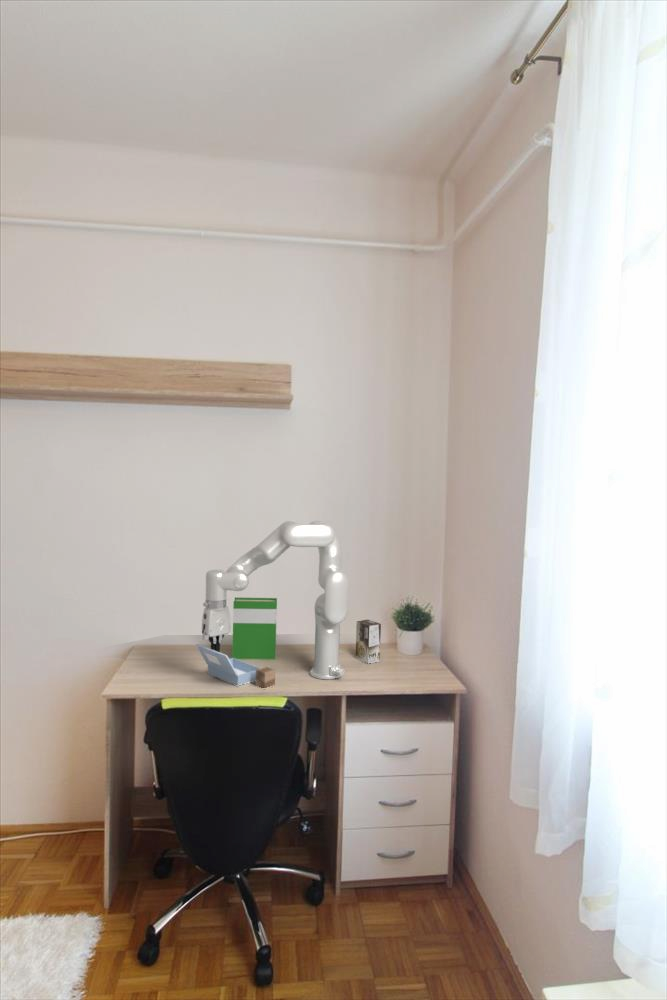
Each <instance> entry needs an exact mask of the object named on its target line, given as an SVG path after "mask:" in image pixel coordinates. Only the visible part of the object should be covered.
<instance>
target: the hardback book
mask: <svg viewBox="0 0 667 1000" xmlns="http://www.w3.org/2000/svg"><path fill="white" fill-rule="evenodd" d="M277 606H278V598H277V597H276V598H275V597H234V600H233V610H232V611H233V612H232V613H233V615H232V649H231V650H232V654H231V656H232V657H231V658H235V659H238V660H276V653H277V651H276V650H277V649H276V648H277V647H276V646H277V615H278V613H277V610H278V608H277Z"/></svg>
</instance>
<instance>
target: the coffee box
mask: <svg viewBox="0 0 667 1000" xmlns="http://www.w3.org/2000/svg"><path fill="white" fill-rule="evenodd" d="M381 630H382V624H381V623H379V622H377V621H373V620H372V619H371V620H370V619H363V620H358V621H356V634H355V635H356V637H355V659H356V658H357V659H356V660H358V659H359V660H358V661H360V660H361V662H363V661H364V662H363V663H365V662H366V663H365V664H367V663H368V664H367V665H370V664H369V663H371V664H376V663H375V662H377V663H380V660H381V658H380V657H381V655H380V654H381V634H382V633H381Z"/></svg>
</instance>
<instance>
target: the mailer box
mask: <svg viewBox="0 0 667 1000" xmlns="http://www.w3.org/2000/svg"><path fill="white" fill-rule="evenodd" d="M229 660H230V662H231V664H232V665H233V667H234V669H235V671H236V673H237V674H238V676H236V675H233V674H231V673H228V672H225V671H223V670H220V669H218V668H215V667H213V666H210V665H208V664H207V675H208V674H209V675H208V676H211V675H212V676H211V677H213V676H214V677H213V678H215V677H217V678H216V679H218V678H219V679H218V680H220V679H222V680H221V681H223V680H225V681H227V682H226V683H228V682H230V683H232V684H235V685H237V686H238V687H240V686H239V685H242V684H245V685H247V684H246V683H248V684H251V683H250V682H252V683H255V682H256V670H257V669H261V668H262V667H259V666H257V665H254V664H251V663H248V662H246V661H243V660H241V659H235V658H232V657H231V658H230V657H229ZM225 681H224V682H225ZM254 681H255V682H254ZM230 683H229V684H230ZM232 684H231V685H232ZM235 685H234V686H235ZM237 686H236V687H237ZM242 686H243V685H242Z"/></svg>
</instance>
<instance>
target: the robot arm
mask: <svg viewBox="0 0 667 1000" xmlns="http://www.w3.org/2000/svg"><path fill="white" fill-rule="evenodd" d="M291 547H296V548H318V554H319V557H318V559H319V560H318V561H319V564H318V585H319V587H321V588H322V590H324V593H322V594H320V595H319V596H318V597H317V598H316V600H315V602H314V619H315V620H314V622H315V626H314V627H315V631H314V633H315V634H314V662H313V663H314V664H313V665H314V666H313V667H312V668H311V669H310V671H309V675H310V676H311V677H312V678H316V679H321V680H335V678H336V679H338V678H339V679H340V678H341V677H343V675H344V674H345V672H346V670H345V669H344V668H342V665H341V663H340V636H341V625H340V624H341V623H343V622H344V620H346V618H347V616H348V613H349V603H350V602H349V601H350V581H349V578H348V575H347V574H346V573H345V572H344V571H343V570H342V548H341V542H340V541H339V538H338V536H337V535H336V532H335V530H334V528H333V527H332V526H331V525H330V524H328V523H326V522H324V521H321V520H314V521H311V522H310V523H297V522H295V521H291V520H289V521H288V520H286V521H284V522H282V523H281V524H280V525H279V526H278V527H276V528H275V529H274V530H273V531H272V532H271V533H269V534H268V536H267V537H266V538H265V539H263V540H262V541H261V542H259V544H257V545H256V546H254V547H253V548H251V549H250V550H248V552H246V553H244V554H243V555H241V556H240V557H239V558H238V559H237V560H236V561H235V562H234V563H233V564H231V565H230V566H229V567H228V569H227V570H226V571H225V570H222V569H210V570H208V571H207V572H206V574H205V599H204V600H205V602H203V603H202V606H203V607H205V608H204V609H203V613H202V619H201V634H202V640H205V641H209V643H210V649H212V650H214V651H217V652H220V650H221V642H223V639H224V638H225V637H226V636H228V635H229V633H230V632H231V615H230V610H229V609H230V608H229V606H227V591H233V592H241V591H244V590H246V588H247V587H248V586H249V584H250V579H249V576H250V575H251V574H252V573H253V572H255V571H256V570H257V569H259V568H261V567H264V566H266V565H270V564H272V563H274V562H275V561H276V560H277V559H279V558H280V556H282V555H283V554H284V553H285V552H286V551H287V550H288V549H289V548H291ZM220 653H221V652H220Z"/></svg>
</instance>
